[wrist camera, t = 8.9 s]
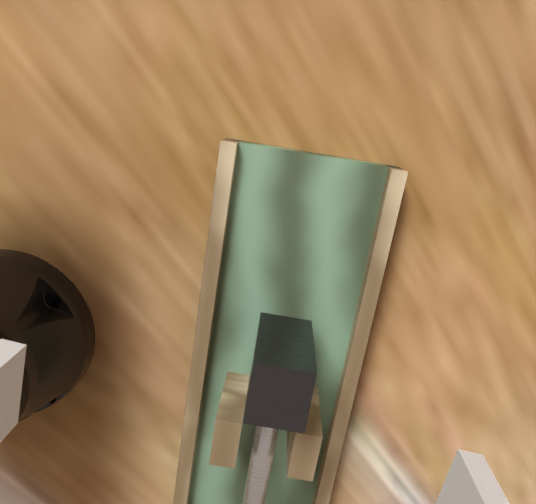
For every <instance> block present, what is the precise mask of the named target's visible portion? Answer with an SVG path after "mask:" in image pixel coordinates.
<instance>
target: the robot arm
mask: <svg viewBox="0 0 536 504" xmlns="http://www.w3.org/2000/svg"><path fill="white" fill-rule="evenodd" d="M94 345H95V331H94V324H93V320H92V316H91V313H90V310H89V308H88V306H87V304H86V302H85V300H84V298H83V296H82V295H81V293H80V292H79V290H78V289H77V288H76V286H75V285H74V284H73V283H72V282H71V281H70V280H69V279H68V278H67V277H66V276H65V275H64V274H63V273H62V272H60V271H59V270H58V269H57V268H55V267H54V266H52V265H51V264H49V263H47V262H46V261H44V260H42V259H40V258H37V257H35V256H32V255H30V254H27V253H23V252H19V251H14V250H3V249H0V443H1V442H2V441H3V439H4V438H5V437H6V436H7V435H8V434H9V433H10V432H11V430H12V429H13V428H14V427H15V426H16V425H17V424H18V422H19V421H21V420H23V419H25V418H27V417H29V416H30V415H31V414H32V413H34V412H37V411H40V410H43V409H45V408H47V407H49V406H51V405H53V404H55V403H56V402H58V401H59V400H60V399H62V398H63V397H64V396H65V395H67V394H68V393H69V392H70V391H71V389H72V388H73V387H74V386H75V385H76V383H77V382H78V381H79V380H80V378H81V377H82V376H83V374H84V373H85V371H86V370H87V368H88V366H89V364H90V361H91V359H92V355H93V351H94ZM435 504H509V502H508V500H507V498H506V496H505V494H504V493H503V491H502V489H501V487H500V485H499V483H498V482H497V480H496V478H495V476H494V474H493V473H492V471H491V469H490V467H489V465H488V463H487V462H486V460H485V458H484V456H483V455H481V454H477V453H473V452H469V451H464V450H460V449H458V450H457V453H456V455H455V458H454V460H453V462H452V465H451V467H450V470H449V472H448V474H447V477H446V479H445V482H444V484H443V487H442V489H441V491H440V494H439V496H438V499H437V501H436V503H435Z"/></svg>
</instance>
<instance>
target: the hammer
mask: <svg viewBox="0 0 536 504" xmlns="http://www.w3.org/2000/svg"><path fill="white" fill-rule="evenodd" d="M316 377H317V367H316V357H315V347H314V337H313V328H312V321H311V320H305V319H299V318H293V317H287V316H281V315H275V314H269V313H263V312H261V314H260V319H259V325H258V331H257V337H256V343H255V349H254V355H253V361H252V367H251V374H250V381H249V387H248V394H247V401H246V407H245V414H244V420H243V423H244V424H250V425H256V429H255V434H254V440H253V446H252V451H251V457H250V462H249V468H248V474H247V479H246V485H245V490H244V496H243V502H242V504H264V503H265V498H266V493H267V488H268V482H269V477H270V472H271V467H272V462H273V457H274V451H275V446H276V441H277V436H278V431H279V429H280V430H286V431H292V432H298V433H305V429H306V424H307V419H308V414H309V410H310V405H311V400H312V395H313V391H314V386H315V381H316Z"/></svg>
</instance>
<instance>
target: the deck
mask: <svg viewBox="0 0 536 504" xmlns="http://www.w3.org/2000/svg"><path fill="white" fill-rule="evenodd" d="M407 175H408V172H407V171H405V170H403V169H401V168H400V167H396V166H390V165H384V164H378V163H372V162H366V161H360V160H354V159H348V158H342V157H336V156H330V155H324V154H318V153H312V152H306V151H300V150H294V149H288V148H282V147H276V146H270V145H264V144H258V143H252V142H246V141H240V140H234V139H228V138H226V139H223V140H221V141H220V148H219V156H218V164H217V171H216V179H215V187H214V194H213V202H212V210H211V217H210V225H209V233H208V240H207V248H206V256H205V263H204V271H203V279H202V286H201V294H200V302H199V309H198V317H197V325H196V332H195V340H194V348H193V355H192V363H191V371H190V378H189V386H188V394H187V401H186V409H185V417H184V425H183V432H182V440H181V448H180V455H179V463H178V471H177V478H176V486H175V494H174V501H173V504H242V502H243V496H244V490H245V485H246V479H247V474H248V468H249V462H250V457H251V451H252V446H253V440H254V434H255V429H256V425H250V424H244V423H243V420H244V414H245V407H246V401H247V394H248V387H249V381H250V374H251V367H252V361H253V355H254V349H255V343H256V337H257V331H258V325H259V319H260V314H261V312H263V313H269V314H275V315H281V316H287V317H293V318H299V319H305V320H311V321H312V328H313V337H314V347H315V357H316V367H317V377H316V381H315V386H314V391H313V395H312V400H311V405H310V410H309V414H308V419H307V424H306V429H305V433H298V432H292V431H286V430H280V429H279V431H278V436H277V441H276V446H275V451H274V457H273V462H272V467H271V472H270V477H269V482H268V488H267V493H266V498H265V503H264V504H329V502H330V498H331V493H332V489H333V485H334V481H335V477H336V472H337V468H338V464H339V460H340V456H341V451H342V447H343V443H344V439H345V435H346V431H347V426H348V422H349V418H350V414H351V410H352V405H353V401H354V397H355V393H356V389H357V384H358V380H359V376H360V372H361V368H362V364H363V359H364V355H365V351H366V347H367V343H368V338H369V334H370V330H371V326H372V322H373V317H374V313H375V309H376V305H377V301H378V296H379V292H380V288H381V284H382V280H383V276H384V271H385V267H386V263H387V259H388V255H389V250H390V246H391V242H392V238H393V234H394V229H395V225H396V221H397V217H398V213H399V209H400V204H401V200H402V196H403V192H404V188H405V183H406V179H407Z"/></svg>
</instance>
